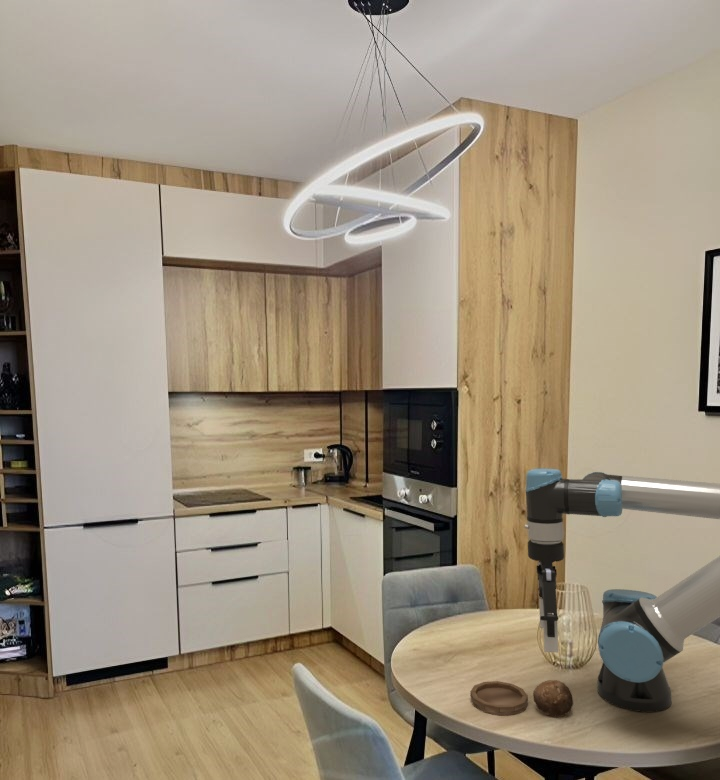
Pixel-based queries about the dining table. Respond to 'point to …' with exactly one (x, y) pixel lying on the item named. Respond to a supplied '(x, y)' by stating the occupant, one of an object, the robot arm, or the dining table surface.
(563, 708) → the brown ball
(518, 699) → the tray
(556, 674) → the dining table surface
